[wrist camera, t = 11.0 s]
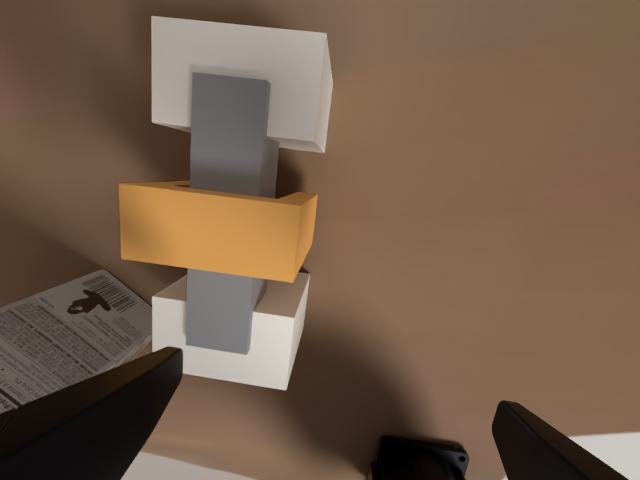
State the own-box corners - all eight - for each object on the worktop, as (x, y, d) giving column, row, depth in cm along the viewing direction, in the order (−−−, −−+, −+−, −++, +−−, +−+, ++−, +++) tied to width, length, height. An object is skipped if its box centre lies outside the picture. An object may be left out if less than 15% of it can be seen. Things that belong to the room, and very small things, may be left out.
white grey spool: (219, 71, 18) (143, 9, 11) (332, 83, 18) (325, 26, 11) (208, 311, 22) (146, 374, 15) (303, 326, 21) (284, 397, 14)
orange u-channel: (317, 194, 18) (300, 205, 11) (312, 242, 18) (293, 282, 12) (203, 180, 18) (118, 183, 11) (202, 228, 19) (121, 258, 12)
